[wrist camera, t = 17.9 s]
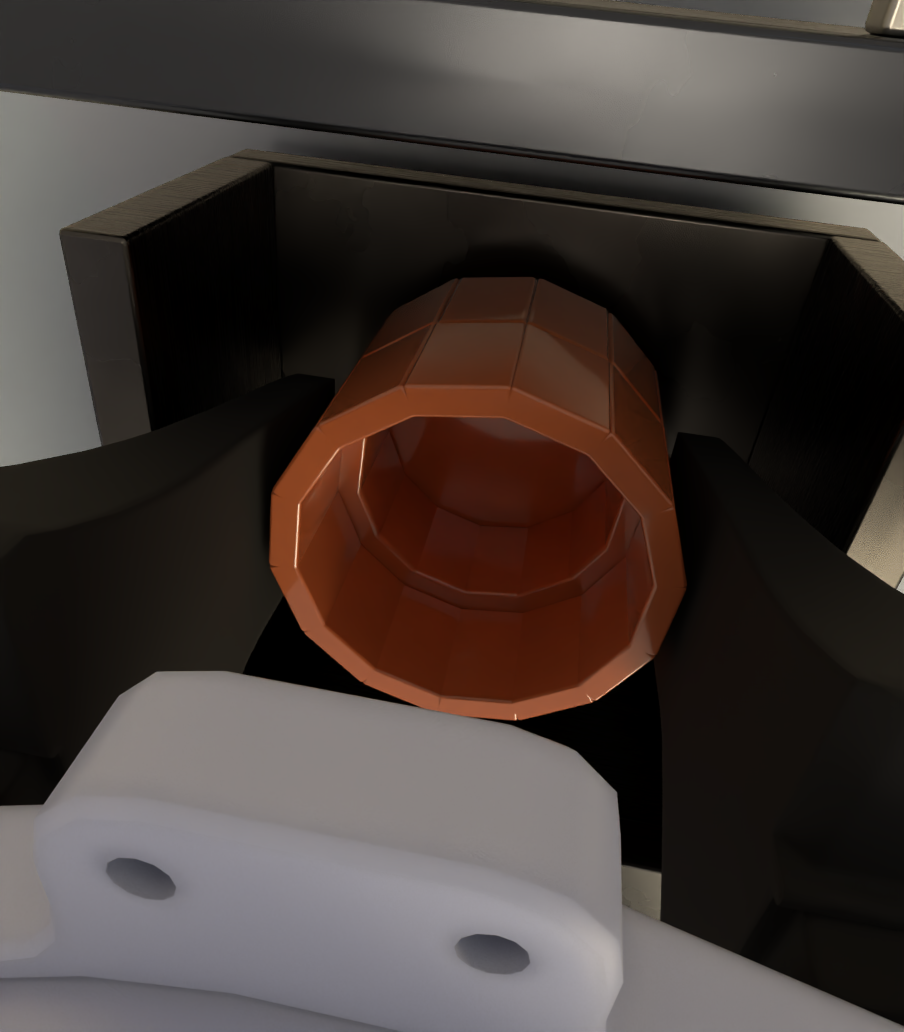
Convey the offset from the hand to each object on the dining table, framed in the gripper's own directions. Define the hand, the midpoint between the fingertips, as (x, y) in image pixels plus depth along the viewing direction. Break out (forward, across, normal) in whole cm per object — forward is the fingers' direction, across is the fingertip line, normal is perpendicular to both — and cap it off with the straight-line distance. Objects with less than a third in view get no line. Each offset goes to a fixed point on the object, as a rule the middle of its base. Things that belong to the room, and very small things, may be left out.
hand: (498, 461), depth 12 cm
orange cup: (+1, 0, 0) cm, 1 cm away
